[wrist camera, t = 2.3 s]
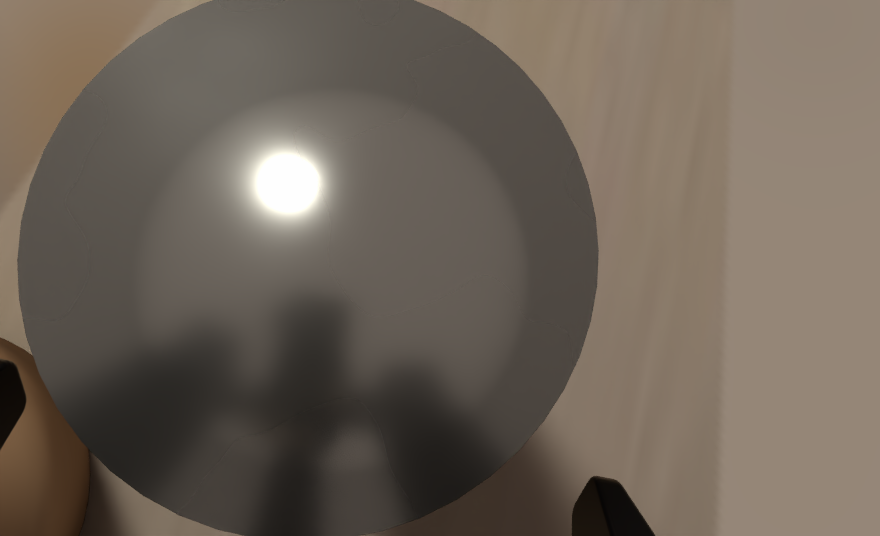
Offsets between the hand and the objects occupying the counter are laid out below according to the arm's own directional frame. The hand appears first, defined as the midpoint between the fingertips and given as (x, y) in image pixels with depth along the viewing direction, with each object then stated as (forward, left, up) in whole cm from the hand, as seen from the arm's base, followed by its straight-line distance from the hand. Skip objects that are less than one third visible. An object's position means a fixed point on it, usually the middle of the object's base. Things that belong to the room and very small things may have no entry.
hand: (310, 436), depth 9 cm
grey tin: (+2, +1, -10) cm, 10 cm away
